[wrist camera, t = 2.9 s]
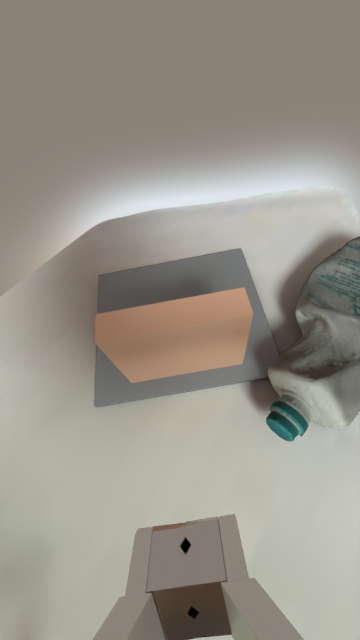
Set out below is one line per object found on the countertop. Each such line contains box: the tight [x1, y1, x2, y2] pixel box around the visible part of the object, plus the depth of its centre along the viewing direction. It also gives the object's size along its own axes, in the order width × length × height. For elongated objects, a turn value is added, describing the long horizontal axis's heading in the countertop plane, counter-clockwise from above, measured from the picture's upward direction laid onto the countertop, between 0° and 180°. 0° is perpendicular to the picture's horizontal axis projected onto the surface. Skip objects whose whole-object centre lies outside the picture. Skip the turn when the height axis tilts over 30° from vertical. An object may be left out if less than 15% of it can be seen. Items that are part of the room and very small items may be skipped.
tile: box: [94, 287, 253, 383], centre depth 25 cm, size 12×3×10 cm, turn 98°
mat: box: [94, 249, 279, 407], centre depth 32 cm, size 20×18×1 cm
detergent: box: [266, 237, 360, 441], centre depth 26 cm, size 13×7×25 cm
